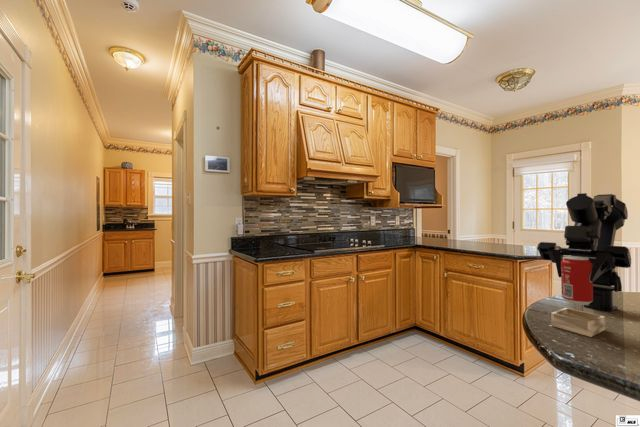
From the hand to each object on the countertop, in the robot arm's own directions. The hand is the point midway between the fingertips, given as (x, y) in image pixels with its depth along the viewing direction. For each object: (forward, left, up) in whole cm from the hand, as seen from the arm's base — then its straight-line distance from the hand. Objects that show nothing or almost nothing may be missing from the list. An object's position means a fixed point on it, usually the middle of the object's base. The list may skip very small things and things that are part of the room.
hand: (574, 278), depth 77 cm
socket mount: (-1, 0, -13) cm, 13 cm away
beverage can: (-1, 0, -7) cm, 7 cm away
